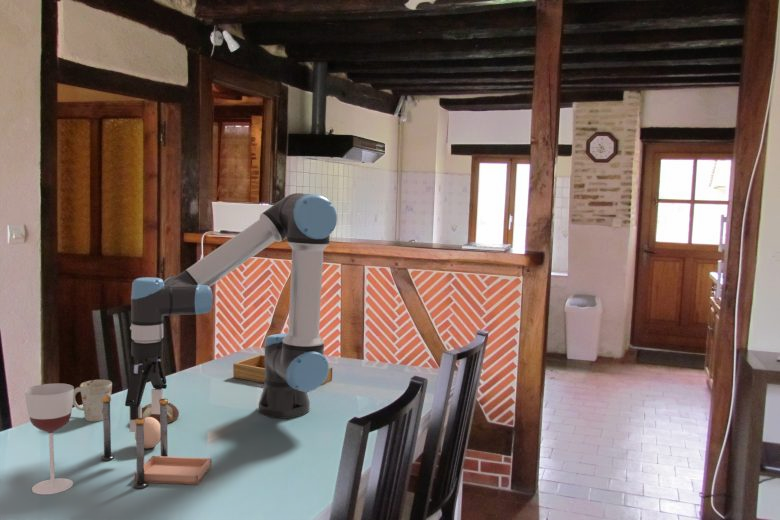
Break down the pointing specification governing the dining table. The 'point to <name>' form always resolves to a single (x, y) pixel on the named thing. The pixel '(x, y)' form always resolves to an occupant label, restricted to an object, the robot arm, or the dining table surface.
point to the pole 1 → (107, 429)
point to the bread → (171, 414)
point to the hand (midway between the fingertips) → (146, 422)
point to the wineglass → (50, 424)
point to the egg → (151, 432)
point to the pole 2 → (140, 454)
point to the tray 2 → (258, 369)
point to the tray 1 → (175, 470)
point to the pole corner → (163, 427)
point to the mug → (93, 398)
